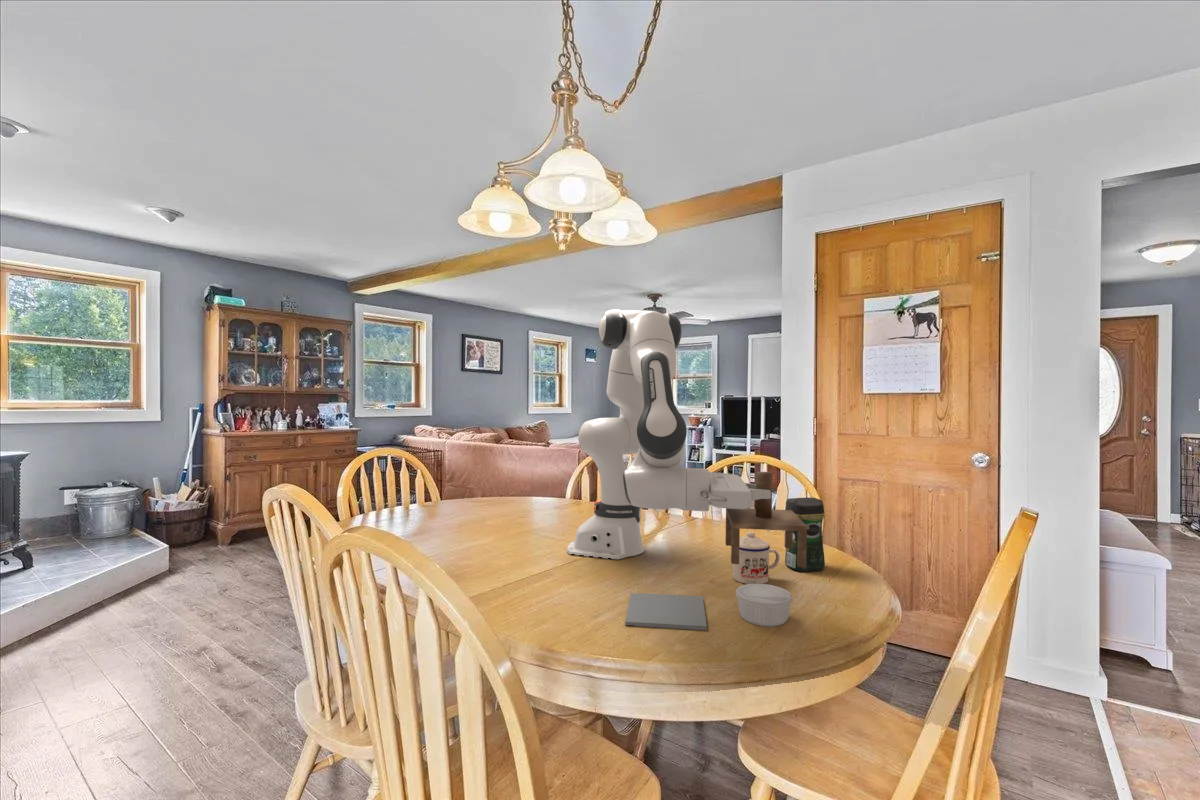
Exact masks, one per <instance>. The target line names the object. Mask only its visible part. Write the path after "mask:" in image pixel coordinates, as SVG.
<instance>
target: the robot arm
mask: <svg viewBox="0 0 1200 800" xmlns="http://www.w3.org/2000/svg"><path fill="white" fill-rule="evenodd" d="M598 325H599V326H598V333H599V334H598V335H599V337H600V342H601V344H602V345H603V346H604V347H606V348H608V349H612V352H611V355H610V361H609V369H608V376H607V384H606V396H607V398H608V399H609V401H610V402H611V403H613V405H616V406H617V407H618V408H619V417H599V418H593V419H589V420H587V421H586V420H585V421H584V422H583V423H582V424H581V426H580V427H579V428H580V429H579V431H578V436H577V437H578V439H577V440H578V443H579V446H580V448H581V450H582V451H583V452H584V453H585V454H586V455H588V457H590V458H591V459H592V460H593V462H594V464H595V465H596V468H597V470H598V473H599V478H600V497H601V500H600V499H597V500H596V501H594V504H593V505H594V506H593V509H594V514H593V515H591V516H590V517H589V518H588V519H586V520H585V521H584V522H582V524H580V525H579V526H578V527H577V529H576V532H575V535H574V536H575V537H574V540H572V541H571V542H569V544H568V545H567V549H566V552H567V554H568V555H571V554H575V555H574V556H579V555H584V556H583V557H589V556H593V557H592V558H598V557H602V558H601V559H608V558H611V559H612V560H621V559H624V558H628V557H634V556H637V555H641V554H643V553H644V552H645V547H644V543H643V540H642V534H641V525H640V522H641V519H642V518H641V517H642V513H641V511H642V509H641V508H643V509H646V510H647V509H649V510H662V511H663V510H669V509H678V510H681V511H685V512H686V511H691V512H709V510H710V506H712V507H714V508H719V509H720V508H721V509H726V508H728V509H752V501H756V500H758V499H770V498H771V491H770V490H769V489H756V483H753V482H744V480H743V479H742V478H741V476H740V475H738V474H733V473H727V472H726V473H725V472H717V471H714V472H713V471H710V469H709V468H697V467H695V468H693V467H682V464H683V461H684V457H685V456H684V455H685V445H686V438H687V432H688V429H687V424H686V421H685V420H684V417H683V416H682V415H681V413H680V411H679V410H678V408H677V406H676V404H675V401H674V395H673V385H672V380H673V378H674V377H675V375H676V369H677V353H676V351H677V350H676V349H677V348H678V347H679V345H680V343H681V339H682V333H683V332H682V324H681V321H680V319H679V318H678V316H675V315H674V314H670V313H668V312H667V313H662V312H659V311H658V310H657V311H655V310H645V309H643V310H638V309H623V310H622V309H621V310H620V308H615V309H608V310H607V311H605V313H603V316H602V318H601V320H600V322H599V324H598ZM624 455H635V457H634V459H633V460H632V462H631V463H630V464H629V466H626V464H625V461H624ZM611 559H610V560H611Z"/></svg>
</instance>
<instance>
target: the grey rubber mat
mask: <svg viewBox="0 0 1200 800" xmlns="http://www.w3.org/2000/svg"><path fill="white" fill-rule="evenodd" d="M706 618H707V617H706V610H705V605H704V597H703V596H702V595H683V594H681V595H680V594H664V593H662V594H661V593H659V594H658V593H645V592H643V593H642V592H630V597H629V601H628V607H627V611H626V617H625V621H624V626H625V625H634V626H633V627H641V628H642V627H643V628H660V629H661V628H663V629H678V630H692V631H693V630H696V631H707V630H708V626H707V619H706Z"/></svg>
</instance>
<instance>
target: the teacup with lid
mask: <svg viewBox="0 0 1200 800" xmlns="http://www.w3.org/2000/svg"><path fill="white" fill-rule="evenodd" d="M770 553H774V554H775V560H774V562H773V563H772V564H770ZM780 555H781V554H780V553H779V551H778V550H776V549H774V548H771V545H770V544H769V542H767V540H764V539H761V538H760V537H759V536H756V533H755V532H754V531H747V532H746V535H743V536H742V537H740V541H739V564H732V578H733V579H734V580H735V581H736V582H739V583H740V584H743V585H746V584H767V583H768V582H769V579H770V578H769V575H770V574H769V572H770V570H773V569H776V567H778V565H779V563H780V559H781V557H780Z"/></svg>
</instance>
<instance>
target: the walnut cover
mask: <svg viewBox="0 0 1200 800" xmlns="http://www.w3.org/2000/svg"><path fill="white" fill-rule="evenodd" d="M755 475H756V476H755V484H756V489H769V490H770V491H771V498H770V499H758V500H755V508H750V509H728V508H725V546H727V547H728V546H729V547H731V548H730V549H731V550H730V553H731V554H730V555H731V556H730V562H731V565H733V564H739V541H740V538H741V535H740V531H741V529H744V530H746V529H747V530H766V531H784V548H785V549H786V548H790V549H793V531H798V538H797V565H798V567H806V548H807V526H806V525H805V524H804V523H803V522H802V520H801V519H800V518H799V517H798V516H797V515H796V514H795V513H794V512H793V511H792V510H785V509H774V508H773V472H770V471H769V472H768V471H757V472H756V473H755Z"/></svg>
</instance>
